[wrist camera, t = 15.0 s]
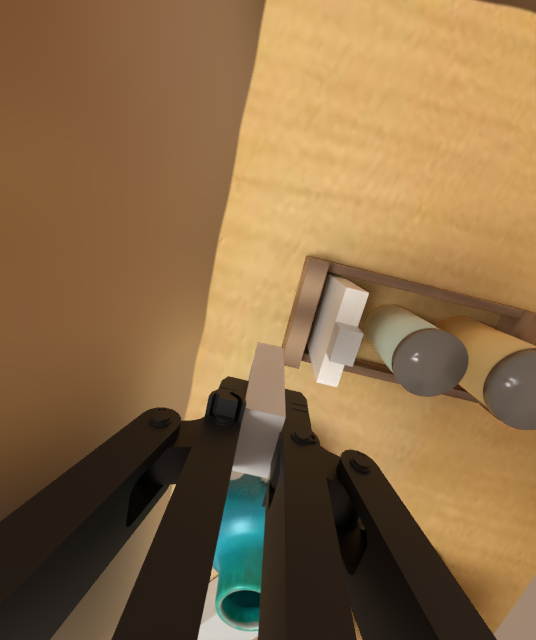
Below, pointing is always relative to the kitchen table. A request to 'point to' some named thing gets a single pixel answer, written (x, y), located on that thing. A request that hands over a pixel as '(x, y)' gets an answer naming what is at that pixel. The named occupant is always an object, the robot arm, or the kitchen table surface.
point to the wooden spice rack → (314, 272)
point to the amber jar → (498, 370)
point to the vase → (241, 552)
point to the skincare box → (218, 621)
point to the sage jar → (416, 350)
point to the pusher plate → (324, 322)
